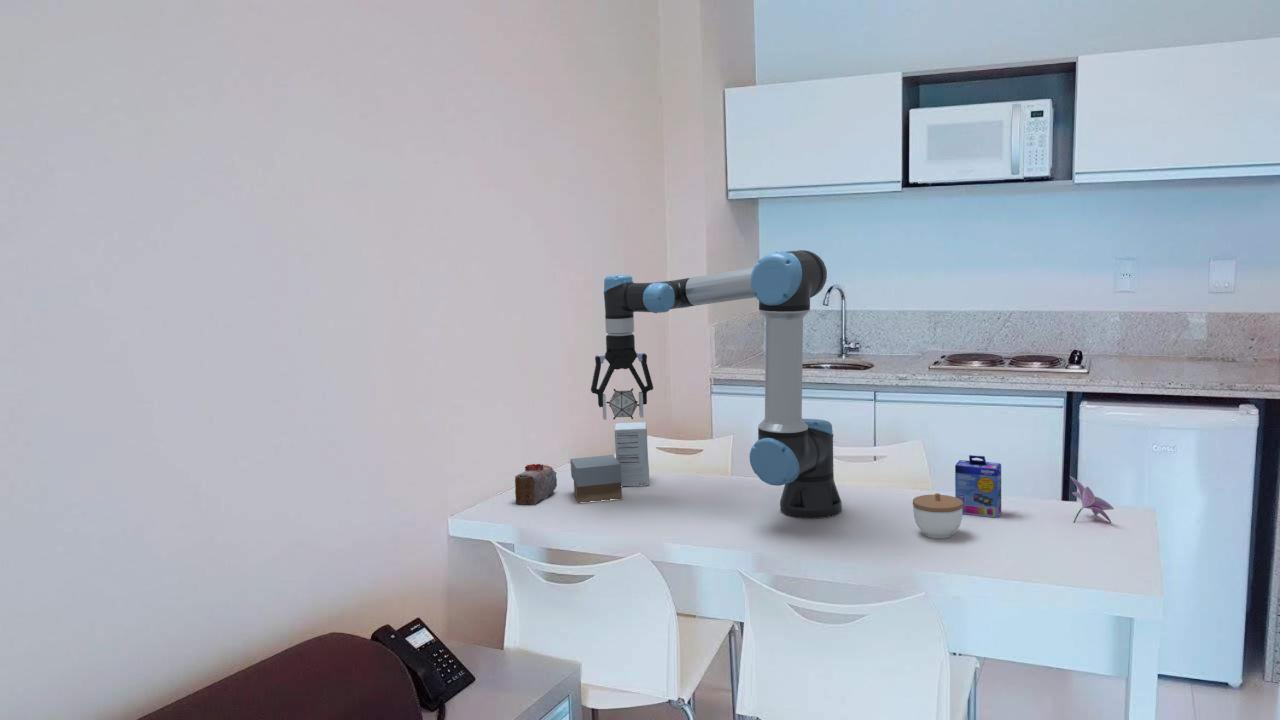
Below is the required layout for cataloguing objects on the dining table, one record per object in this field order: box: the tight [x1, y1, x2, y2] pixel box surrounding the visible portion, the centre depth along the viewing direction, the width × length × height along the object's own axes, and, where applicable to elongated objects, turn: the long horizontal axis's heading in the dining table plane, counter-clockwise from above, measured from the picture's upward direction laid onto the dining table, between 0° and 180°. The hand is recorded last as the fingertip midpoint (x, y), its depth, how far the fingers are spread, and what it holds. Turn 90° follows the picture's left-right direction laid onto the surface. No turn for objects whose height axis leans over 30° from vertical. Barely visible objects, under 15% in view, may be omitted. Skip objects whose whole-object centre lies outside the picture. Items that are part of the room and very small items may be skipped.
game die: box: [606, 387, 639, 420], centre depth 242 cm, size 9×8×10 cm
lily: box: [1069, 475, 1115, 523], centre depth 209 cm, size 12×12×10 cm
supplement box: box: [614, 421, 650, 487], centre depth 262 cm, size 10×9×17 cm
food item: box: [514, 463, 558, 506], centre depth 251 cm, size 14×8×10 cm, turn 163°
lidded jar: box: [912, 492, 963, 539], centre depth 204 cm, size 11×11×9 cm
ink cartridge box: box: [954, 454, 1003, 519], centre depth 218 cm, size 10×6×14 cm, turn 59°
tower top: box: [569, 454, 622, 487], centre depth 250 cm, size 12×12×5 cm
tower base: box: [573, 481, 623, 504], centre depth 251 cm, size 12×12×5 cm
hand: (623, 417), depth 243 cm, fingers closed on game die, 9 cm apart
